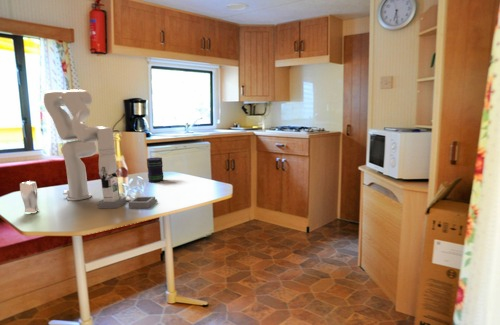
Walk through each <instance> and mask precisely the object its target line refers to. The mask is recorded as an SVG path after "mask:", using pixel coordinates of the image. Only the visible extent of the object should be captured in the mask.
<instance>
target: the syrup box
mask: <svg viewBox="0 0 500 325" xmlns="http://www.w3.org/2000/svg"><path fill="white" fill-rule="evenodd" d="M111 176H112V175H111ZM111 176H108V178H107V180H108V183H109V188H102V187H101V189H102V190H101V191H102V197H103V199H104V202H116V201H117V200H119V199H120V197H121V196H120V187H119V180H118V176H117V177H113V176H112V177H111ZM100 181H101V180H100ZM101 183H102V181H101Z"/></svg>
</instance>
